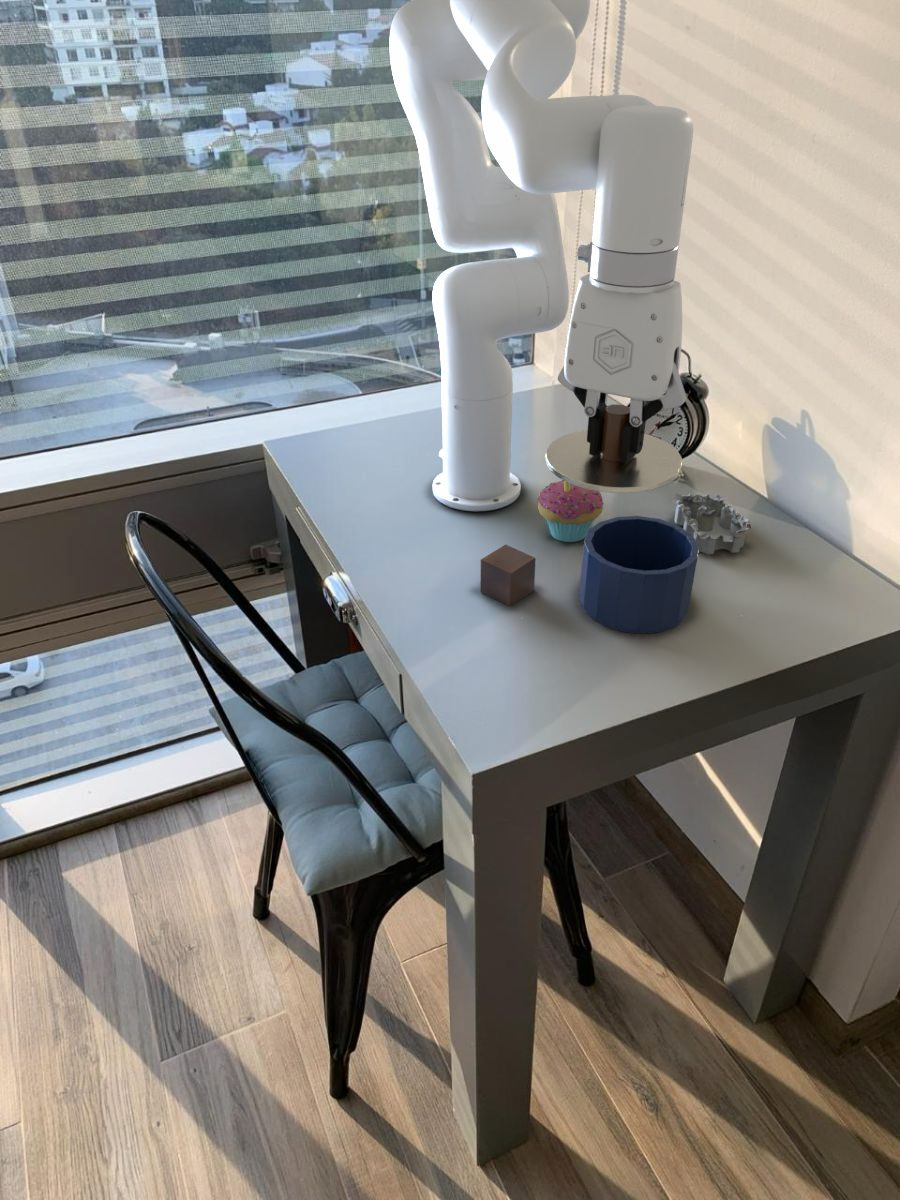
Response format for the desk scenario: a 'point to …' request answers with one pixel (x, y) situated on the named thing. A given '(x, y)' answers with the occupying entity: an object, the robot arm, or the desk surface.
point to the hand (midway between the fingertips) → (613, 452)
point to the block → (507, 575)
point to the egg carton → (711, 522)
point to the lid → (613, 459)
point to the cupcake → (569, 510)
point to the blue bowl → (637, 574)
